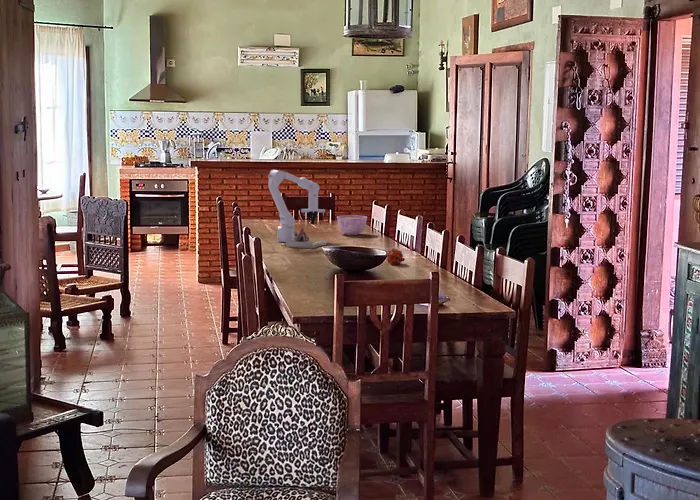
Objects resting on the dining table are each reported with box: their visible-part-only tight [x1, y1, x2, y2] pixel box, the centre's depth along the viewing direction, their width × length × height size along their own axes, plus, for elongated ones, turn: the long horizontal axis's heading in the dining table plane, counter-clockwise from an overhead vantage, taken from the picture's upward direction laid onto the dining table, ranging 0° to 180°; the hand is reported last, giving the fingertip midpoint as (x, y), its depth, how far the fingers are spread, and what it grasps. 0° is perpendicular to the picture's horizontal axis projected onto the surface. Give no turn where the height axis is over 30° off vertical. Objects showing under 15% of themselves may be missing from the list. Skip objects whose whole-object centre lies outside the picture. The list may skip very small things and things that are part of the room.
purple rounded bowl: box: [336, 214, 368, 236], centre depth 553 cm, size 20×20×12 cm
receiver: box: [285, 239, 328, 249], centre depth 499 cm, size 19×19×4 cm
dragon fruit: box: [386, 248, 406, 266], centre depth 438 cm, size 8×8×12 cm
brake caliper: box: [293, 227, 311, 242], centre depth 498 cm, size 11×11×12 cm
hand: (313, 224), depth 522 cm, fingers closed
